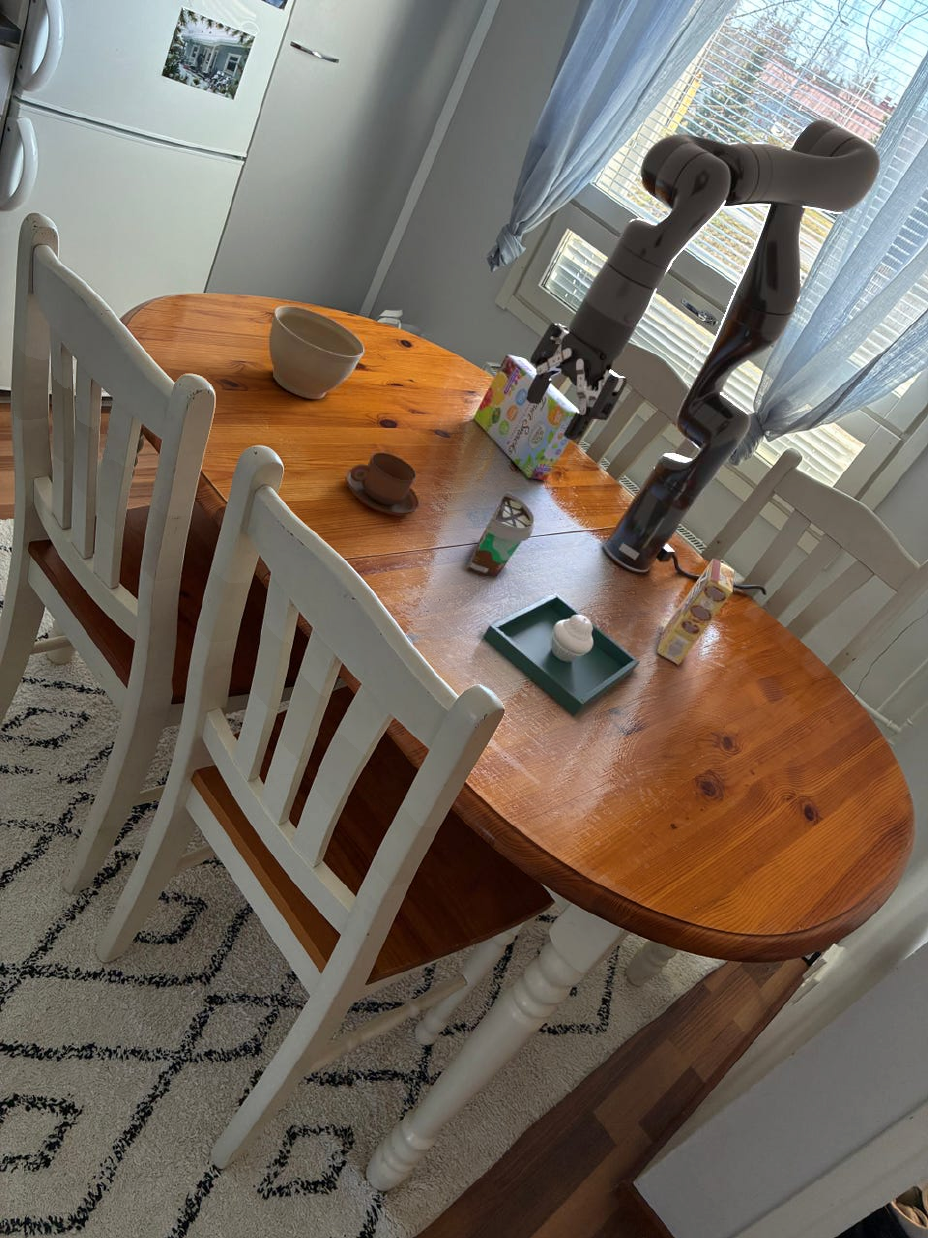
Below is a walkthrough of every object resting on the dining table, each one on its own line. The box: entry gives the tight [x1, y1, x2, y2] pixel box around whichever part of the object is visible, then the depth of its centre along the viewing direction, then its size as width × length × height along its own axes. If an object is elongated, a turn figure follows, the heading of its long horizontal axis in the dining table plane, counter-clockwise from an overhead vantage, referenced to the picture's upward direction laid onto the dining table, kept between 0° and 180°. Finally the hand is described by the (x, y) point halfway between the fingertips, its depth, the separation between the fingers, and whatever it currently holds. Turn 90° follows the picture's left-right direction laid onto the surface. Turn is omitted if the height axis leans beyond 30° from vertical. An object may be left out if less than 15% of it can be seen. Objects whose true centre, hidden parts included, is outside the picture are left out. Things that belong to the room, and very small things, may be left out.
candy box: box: [657, 558, 735, 666], centre depth 148 cm, size 9×4×15 cm, turn 162°
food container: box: [466, 490, 535, 578], centre depth 144 cm, size 12×6×10 cm, turn 168°
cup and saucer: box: [346, 452, 420, 517], centre depth 145 cm, size 12×12×6 cm
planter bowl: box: [268, 305, 365, 400], centre depth 163 cm, size 16×16×11 cm
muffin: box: [551, 614, 593, 662], centre depth 133 cm, size 6×6×7 cm
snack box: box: [473, 354, 579, 481], centre depth 183 cm, size 21×6×15 cm, turn 34°
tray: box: [482, 592, 641, 717], centre depth 134 cm, size 20×17×2 cm
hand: (550, 419), depth 125 cm, fingers open, 8 cm apart
